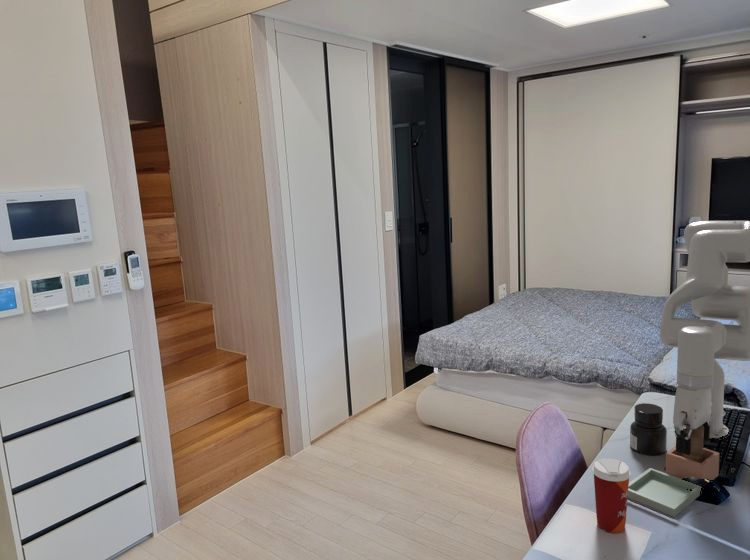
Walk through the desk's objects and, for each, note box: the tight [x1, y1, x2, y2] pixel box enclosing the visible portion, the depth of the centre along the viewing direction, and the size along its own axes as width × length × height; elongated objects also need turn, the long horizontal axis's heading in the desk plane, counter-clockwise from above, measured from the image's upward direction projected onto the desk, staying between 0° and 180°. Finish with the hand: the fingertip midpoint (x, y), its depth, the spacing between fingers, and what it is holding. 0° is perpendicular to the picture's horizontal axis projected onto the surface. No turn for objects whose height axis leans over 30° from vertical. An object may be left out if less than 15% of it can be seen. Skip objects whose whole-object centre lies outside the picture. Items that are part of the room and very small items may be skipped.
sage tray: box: [627, 467, 702, 520], centre depth 132 cm, size 13×12×2 cm
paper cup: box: [591, 458, 632, 534], centre depth 122 cm, size 8×8×14 cm
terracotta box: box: [665, 445, 720, 481], centre depth 138 cm, size 9×9×6 cm
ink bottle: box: [629, 402, 668, 457], centre depth 152 cm, size 10×9×12 cm
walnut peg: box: [682, 423, 704, 463], centre depth 138 cm, size 4×4×13 cm
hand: (692, 445), depth 137 cm, fingers open, 9 cm apart
